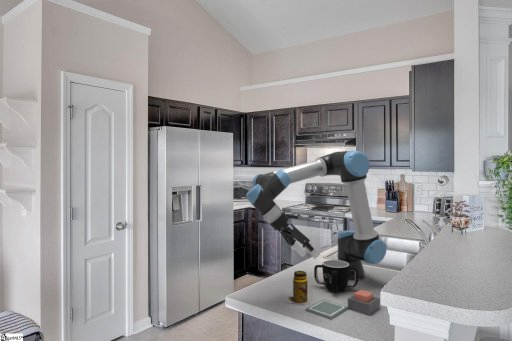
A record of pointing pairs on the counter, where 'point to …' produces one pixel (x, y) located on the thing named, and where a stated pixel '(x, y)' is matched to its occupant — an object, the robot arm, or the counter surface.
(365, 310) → the button housing
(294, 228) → the robot arm
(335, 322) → the counter surface
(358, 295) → the button
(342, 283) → the mug
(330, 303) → the slate board
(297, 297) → the condiment
